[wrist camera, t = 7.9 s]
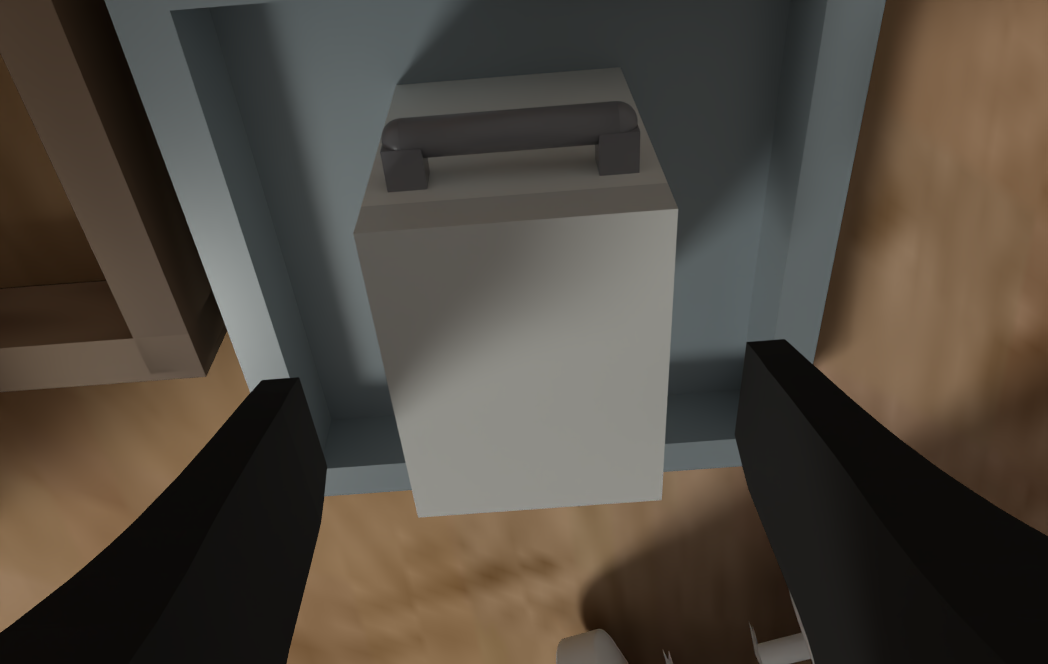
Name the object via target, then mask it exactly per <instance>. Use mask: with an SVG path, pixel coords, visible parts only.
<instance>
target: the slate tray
mask: <svg viewBox="0 0 1048 664" xmlns="http://www.w3.org/2000/svg"><path fill="white" fill-rule="evenodd" d="M104 1H105V3H106V6H107V9H108V11H109V14H110V17H111V19H112V22H113V25H114V27H115V30H116V33H117V35H118V38H119V41H120V44H121V46H122V49H123V52H124V54H125V57H126V60H127V62H128V65H129V68H130V70H131V73H132V76H133V78H134V81H135V84H136V87H137V89H138V92H139V95H140V97H141V100H142V103H143V105H144V108H145V111H146V113H147V116H148V119H149V121H150V124H151V127H152V129H153V132H154V135H155V138H156V140H157V143H158V146H159V148H160V151H161V154H162V156H163V159H164V162H165V164H166V167H167V170H168V172H169V175H170V178H171V181H172V183H173V186H174V189H175V191H176V194H177V197H178V199H179V202H180V205H181V207H182V210H183V213H184V215H185V218H186V221H187V224H188V226H189V229H190V232H191V234H192V237H193V240H194V242H195V245H196V248H197V250H198V253H199V256H200V258H201V261H202V264H203V266H204V269H205V272H206V275H207V277H208V280H209V283H210V285H211V288H212V291H213V293H214V296H215V299H216V301H217V304H218V307H219V309H220V312H221V315H222V318H223V320H224V323H225V326H226V328H227V331H228V334H229V336H230V339H231V342H232V344H233V347H234V350H235V352H236V355H237V358H238V361H239V363H240V366H241V369H242V371H243V374H244V377H245V379H246V382H247V385H248V387H249V390H250V393H251V392H252V391H253V389H254V388H255V387H256V386H257V385H258V384H259V383H260V381H261V380H268V379H281V378H294V377H299V378H300V381H301V384H302V388H303V391H304V394H305V397H306V400H307V403H308V407H309V410H310V413H311V416H312V419H313V422H314V426H315V429H316V432H317V435H318V438H319V441H320V445H321V448H322V451H323V454H324V457H325V460H326V464H327V474H326V484H325V494H324V496H335V495H349V494H363V493H377V492H390V491H404V490H412V488H411V484H410V479H409V475H408V471H407V466H406V462H405V457H404V453H403V449H402V444H401V440H400V436H399V431H398V427H397V423H396V418H395V414H394V409H393V405H392V401H391V396H390V392H389V388H388V383H387V379H386V375H385V370H384V366H383V361H382V357H381V353H380V348H379V344H378V340H377V335H376V331H375V327H374V322H373V318H372V313H371V309H370V305H369V300H368V296H367V292H366V287H365V283H364V278H363V274H362V270H361V265H360V261H359V257H358V252H357V248H356V244H355V239H354V235H353V233H354V229H355V226H356V222H357V219H358V216H359V212H360V209H361V205H362V202H363V198H364V195H365V191H366V188H367V184H368V181H369V177H370V174H371V170H372V167H373V163H374V160H375V156H376V153H377V149H378V146H379V142H380V139H381V135H382V131H383V129H384V125H385V122H386V118H387V115H388V111H389V108H390V104H391V101H392V97H393V94H394V90H395V87H396V85H403V84H416V83H428V82H441V81H453V80H466V79H478V78H491V77H504V76H516V75H529V74H541V73H554V72H566V71H579V70H591V69H604V68H617V67H620V68H621V70H622V73H623V75H624V78H625V80H626V82H627V85H628V87H629V90H630V92H631V95H632V97H633V100H634V102H635V104H636V107H637V109H638V112H639V114H640V117H641V119H642V122H643V124H644V126H645V129H646V131H647V134H648V136H649V139H650V141H651V144H652V146H653V148H654V151H655V153H656V156H657V158H658V161H659V163H660V165H661V168H662V170H663V173H664V175H665V178H666V180H667V183H668V185H669V187H670V190H671V192H672V195H673V197H674V200H675V202H676V205H677V207H678V221H677V239H676V256H675V274H674V291H673V309H672V326H671V344H670V362H669V379H668V397H667V414H666V432H665V449H664V467H663V472H667V471H681V470H695V469H709V468H723V467H736V466H742V463H741V459H740V455H739V451H738V447H737V443H736V439H735V427H736V419H737V412H738V404H739V396H740V389H741V381H742V373H743V365H744V358H745V350H746V342H753V341H766V340H778V339H785V340H786V341H788V342H789V343H790V344H791V345H792V346H793V347H794V348H795V349H796V350H798V351H799V352H800V353H801V354H802V355H803V356H804V357H805V358H806V359H807V360H809V361H810V362H811V363H812V364H813V361H814V356H815V351H816V346H817V341H818V336H819V331H820V326H821V321H822V316H823V312H824V307H825V302H826V297H827V292H828V287H829V282H830V277H831V272H832V267H833V262H834V257H835V252H836V247H837V242H838V237H839V232H840V227H841V222H842V217H843V212H844V207H845V202H846V197H847V192H848V187H849V182H850V177H851V172H852V167H853V162H854V157H855V152H856V147H857V142H858V137H859V132H860V127H861V122H862V117H863V112H864V107H865V102H866V97H867V92H868V87H869V82H870V77H871V72H872V67H873V62H874V57H875V52H876V47H877V42H878V37H879V32H880V27H881V22H882V17H883V12H884V7H885V2H886V0H104Z"/></svg>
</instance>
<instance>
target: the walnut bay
mask: <svg viewBox="0 0 1048 664" xmlns="http://www.w3.org/2000/svg"><path fill="white" fill-rule="evenodd" d="M0 54H1V56H2V58H3V60H4V62H5V64H6V66H7V69H8V71H9V73H10V75H11V77H12V79H13V81H14V84H15V86H16V88H17V90H18V92H19V94H20V96H21V99H22V101H23V103H24V105H25V107H26V109H27V111H28V114H29V116H30V118H31V120H32V122H33V124H34V126H35V129H36V131H37V133H38V135H39V137H40V139H41V141H42V144H43V146H44V148H45V150H46V152H47V154H48V156H49V159H50V161H51V163H52V165H53V167H54V169H55V171H56V174H57V176H58V178H59V180H60V182H61V184H62V186H63V189H64V191H65V193H66V195H67V197H68V199H69V201H70V204H71V206H72V208H73V210H74V212H75V214H76V216H77V219H78V221H79V223H80V225H81V227H82V229H83V231H84V234H85V236H86V238H87V240H88V242H89V244H90V246H91V249H92V251H93V253H94V255H95V257H96V259H97V261H98V264H99V266H100V268H101V270H102V272H103V274H104V276H105V279H106V281H96V282H83V283H70V284H57V285H44V286H31V287H18V288H5V289H0V392H8V391H21V390H35V389H48V388H61V387H75V386H88V385H102V384H115V383H128V382H142V381H155V380H169V379H182V378H195V377H206V376H207V373H208V371H209V369H210V367H211V365H212V363H213V360H214V358H215V356H216V354H217V352H218V349H219V347H220V345H221V343H222V341H223V339H224V336H225V334H226V332H227V328H226V326H225V323H224V320H223V318H222V315H221V312H220V309H219V307H218V304H217V301H216V299H215V296H214V293H213V291H212V288H211V285H210V283H209V280H208V277H207V275H206V272H205V269H204V266H203V264H202V261H201V258H200V256H199V253H198V250H197V248H196V245H195V242H194V240H193V237H192V234H191V232H190V229H189V226H188V224H187V221H186V218H185V215H184V213H183V210H182V207H181V205H180V202H179V199H178V197H177V194H176V191H175V189H174V186H173V183H172V181H171V178H170V175H169V172H168V170H167V167H166V164H165V162H164V159H163V156H162V154H161V151H160V148H159V146H158V143H157V140H156V138H155V135H154V132H153V129H152V127H151V124H150V121H149V119H148V116H147V113H146V111H145V108H144V105H143V103H142V100H141V97H140V95H139V92H138V89H137V87H136V84H135V81H134V78H133V76H132V73H131V70H130V68H129V65H128V62H127V60H126V57H125V54H124V52H123V49H122V46H121V44H120V41H119V38H118V35H117V33H116V30H115V27H114V25H113V22H112V19H111V17H110V14H109V11H108V9H107V6H106V3H105V1H104V0H0Z"/></svg>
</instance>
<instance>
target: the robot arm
mask: <svg viewBox="0 0 1048 664" xmlns="http://www.w3.org/2000/svg"><path fill="white" fill-rule="evenodd" d="M735 439H736V443H737V447H738V451H739V455H740V459H741V463H742V467H743V470H744V474H745V478H746V481H747V485H748V489H749V492H750V494H751V497H752V499H753V502H754V505H755V507H756V510H757V512H758V515H759V517H760V520H761V522H762V525H763V527H764V530H765V532H766V535H767V537H768V539H769V542H770V544H771V547H772V549H773V552H774V554H775V557H776V559H777V562H778V564H779V566H780V569H781V571H782V574H783V576H784V579H785V581H786V584H787V586H788V589H789V591H790V593H791V596H792V598H793V601H794V603H795V606H796V608H797V611H798V613H799V616H800V619H801V622H802V625H803V627H804V630H805V633H806V636H807V639H808V642H809V646H810V649H811V652H812V656H813V659H814V663H815V664H1048V536H1046V535H1045V534H1043V533H1041V532H1039V531H1037V530H1036V529H1034V528H1032V527H1030V526H1029V525H1027V524H1025V523H1023V522H1021V521H1020V520H1018V519H1016V518H1015V517H1013V516H1011V515H1010V514H1008V513H1006V512H1005V511H1003V510H1001V509H1000V508H998V507H997V506H995V505H993V504H992V503H990V502H989V501H987V500H986V499H984V498H983V497H981V496H980V495H978V494H976V493H975V492H973V491H972V490H970V489H969V488H967V487H966V486H964V485H963V484H961V483H960V482H958V481H957V480H955V479H954V478H952V477H951V476H949V475H948V474H946V473H945V472H943V471H942V470H941V469H939V468H938V467H936V466H935V465H934V464H932V463H931V462H930V461H928V460H927V459H926V458H924V457H923V456H922V455H920V454H919V453H918V452H916V451H915V450H914V449H912V448H911V447H910V446H908V445H907V444H906V443H904V442H903V441H902V440H900V439H899V438H898V437H897V436H895V435H894V434H893V433H892V432H890V431H889V430H888V429H887V428H885V427H884V426H883V425H882V424H880V423H879V422H878V421H877V420H876V419H874V418H873V417H872V416H871V415H870V414H868V413H867V412H866V411H865V410H864V409H862V408H861V407H860V406H859V405H858V404H857V403H855V402H854V401H853V400H852V399H851V398H850V397H849V396H847V395H846V394H845V393H844V392H843V391H842V390H841V389H839V388H838V387H837V386H836V385H835V384H834V383H833V382H832V381H831V380H829V379H828V378H827V377H826V376H825V375H824V374H823V373H822V372H821V371H820V370H818V369H817V368H816V367H815V366H814V365H813V364H812V363H811V362H810V361H809V360H807V359H806V358H805V357H804V356H803V355H802V354H801V353H800V352H799V351H798V350H796V349H795V348H794V347H793V346H792V345H791V344H790V343H789V342H788V341H786V340H785V339H778V340H766V341H753V342H746V350H745V358H744V365H743V373H742V381H741V389H740V396H739V404H738V412H737V419H736V427H735ZM326 474H327V464H326V460H325V457H324V454H323V451H322V448H321V445H320V441H319V438H318V435H317V432H316V429H315V426H314V422H313V419H312V416H311V413H310V410H309V407H308V403H307V400H306V397H305V394H304V391H303V388H302V384H301V381H300V378H299V377H294V378H281V379H268V380H261V381H260V383H259V384H258V385H257V386H256V387H255V388H254V389H253V391H252V392H251V393H250V394H249V395H248V396H247V397H246V399H245V400H244V401H243V402H242V403H241V404H240V406H239V407H238V408H237V409H236V410H235V412H234V413H233V414H232V415H231V416H230V417H229V419H228V420H227V421H226V422H225V423H224V425H223V426H222V427H221V428H220V429H219V430H218V432H217V433H216V434H215V435H214V436H213V437H212V439H211V440H210V441H209V442H208V443H207V444H206V445H205V447H204V448H203V449H202V450H201V451H200V452H199V453H198V455H197V456H196V457H195V458H194V459H193V460H192V461H191V462H190V464H189V465H188V466H187V467H186V468H185V469H184V470H183V471H182V473H181V474H180V475H179V476H178V477H177V478H176V479H175V480H174V481H173V482H172V483H171V484H170V485H169V486H168V487H167V488H166V489H165V490H164V492H163V493H162V494H161V495H160V496H159V497H158V498H157V499H156V500H155V501H154V502H153V503H152V504H151V505H150V506H149V507H148V508H147V509H146V510H145V511H144V512H143V513H142V514H141V515H140V516H139V517H138V518H137V519H136V520H135V521H134V522H133V523H132V524H131V525H130V526H129V527H128V528H127V529H126V530H125V531H124V532H123V533H122V534H121V535H120V536H118V537H117V538H116V539H115V540H114V541H113V542H112V543H111V544H110V545H109V546H108V547H106V548H105V549H104V550H103V551H102V552H101V553H100V554H98V555H97V556H96V557H95V558H94V559H93V560H92V561H90V562H89V563H88V564H87V565H86V566H85V567H84V568H82V569H81V570H80V571H79V572H78V573H77V574H75V575H74V576H73V577H72V578H71V579H69V580H68V581H67V582H66V583H64V584H63V585H62V586H60V587H59V588H58V589H57V590H55V591H54V592H53V593H51V594H50V595H49V596H48V597H46V598H45V599H44V600H43V601H41V602H40V603H39V604H37V605H36V606H35V607H34V608H32V609H31V610H30V611H28V612H27V613H26V614H25V615H23V616H22V617H21V618H19V619H18V620H17V621H16V622H14V623H13V624H12V625H10V626H9V627H8V628H6V629H5V630H4V631H2V632H1V633H0V664H286V663H287V658H288V653H289V648H290V645H291V641H292V637H293V633H294V629H295V625H296V621H297V617H298V613H299V609H300V605H301V601H302V597H303V593H304V589H305V585H306V581H307V578H308V574H309V570H310V566H311V562H312V558H313V553H314V549H315V545H316V541H317V537H318V533H319V529H320V524H321V518H322V510H323V502H324V494H325V484H326Z"/></svg>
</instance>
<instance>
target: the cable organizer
mask: <svg viewBox="0 0 1048 664" xmlns="http://www.w3.org/2000/svg"><path fill="white" fill-rule="evenodd" d="M789 593H790V591H789ZM790 597H791V601H792V604H793V607H794V611H795V614H796V617H797V620H798V623H799V626H800V628H801V631H802V633H798V634H794V635H790V636H786V637H782V638H778V639H774V640H771V641H767V642H763V643H759V644H758V641H757V638H756V635H755V632H754V628H753V625H752V628H751V625H750V623H749V626H750V631H751V636H752V641H753V646H754V651H755V655H756V657H757V660H758V662H759V664H791V663H795V662H799V661H803V660H807V659H812V662H813V664H815V663H814V659H813V656H812V652H811V649H810V646H809V642H808V639H807V636H806V633H805V630H804V627H803V625H802V622H801V619H800V616H799V613H798V611H797V608H796V606H795V603H794V601H793V598H792V596H791V593H790ZM748 621H749V620H748ZM752 629H753V630H752ZM663 653H664V651H663ZM664 657H665V661H666V664H673V662H672V659H671V656H670V653H669V656H668V659H667V657H666V655H665V653H664ZM556 664H629V663H628V662H627V660H626V659H625V657H624V656H623V654H622V653H621V651H620V650H619V648H618V647H617V645H616V644H615V642H614V641H613V639H612V638H611V637H610V636H609V634H608V633H606V632H605V631H604V630H602V629H596V630H592V631H589V632H585V633H581V634H578V635H574V636H570V637H567V638H564V639H562V640H561V641H560V642H559V644H558V648H557V653H556Z"/></svg>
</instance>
